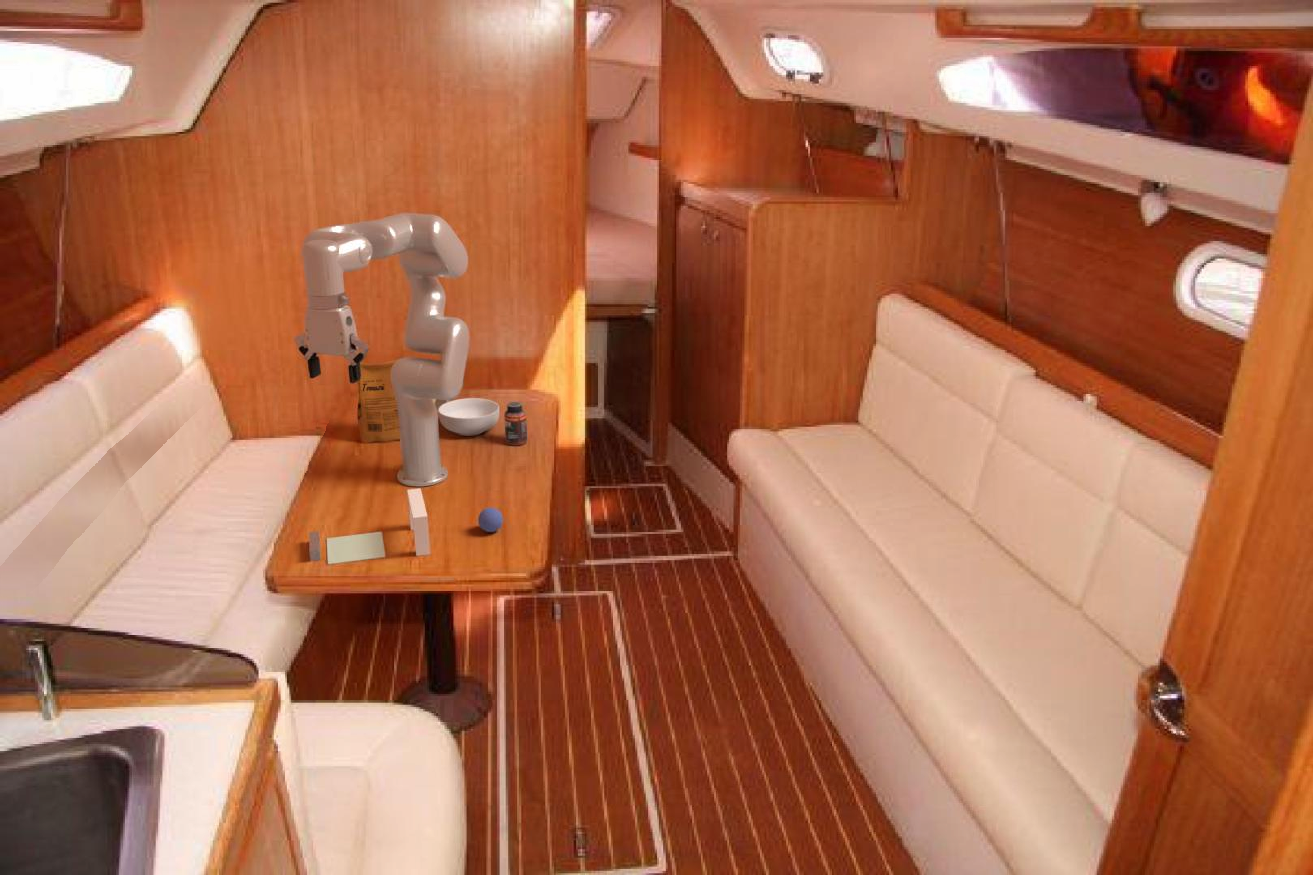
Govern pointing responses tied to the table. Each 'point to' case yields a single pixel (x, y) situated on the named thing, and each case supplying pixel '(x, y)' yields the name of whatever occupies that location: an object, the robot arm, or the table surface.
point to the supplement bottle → (515, 424)
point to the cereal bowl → (469, 415)
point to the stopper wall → (314, 546)
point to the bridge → (419, 521)
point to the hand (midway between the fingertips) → (335, 378)
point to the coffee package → (377, 404)
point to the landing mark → (355, 548)
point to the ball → (490, 519)
